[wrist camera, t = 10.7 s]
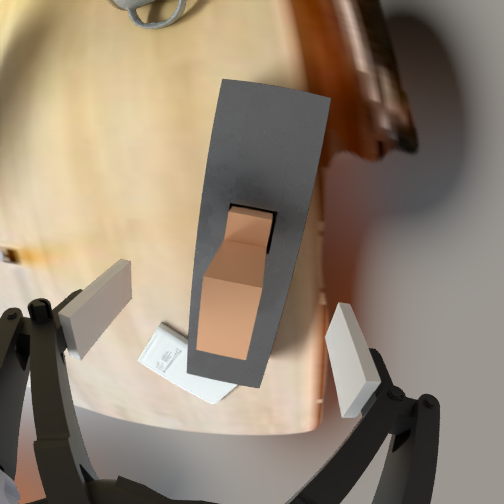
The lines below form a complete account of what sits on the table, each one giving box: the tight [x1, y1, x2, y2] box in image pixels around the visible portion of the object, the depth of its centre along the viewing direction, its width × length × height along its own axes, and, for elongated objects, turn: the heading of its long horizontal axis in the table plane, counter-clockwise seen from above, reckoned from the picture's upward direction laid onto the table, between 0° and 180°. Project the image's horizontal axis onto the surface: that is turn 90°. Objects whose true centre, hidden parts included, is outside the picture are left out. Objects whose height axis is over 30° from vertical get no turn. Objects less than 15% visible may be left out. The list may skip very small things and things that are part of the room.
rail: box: [187, 79, 331, 388], centre depth 24 cm, size 8×28×5 cm, turn 170°
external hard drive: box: [138, 323, 237, 404], centre depth 33 cm, size 2×8×12 cm
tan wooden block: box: [196, 205, 273, 360], centre depth 20 cm, size 3×9×12 cm, turn 170°
